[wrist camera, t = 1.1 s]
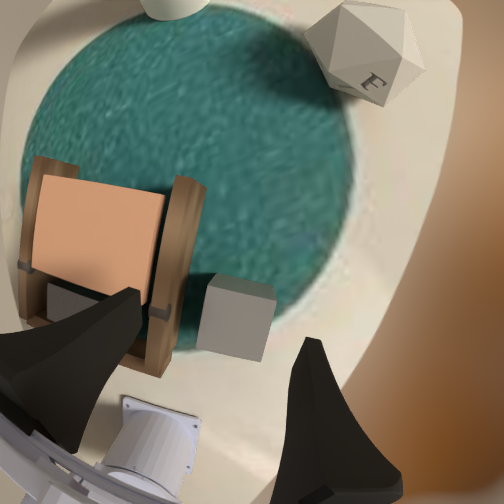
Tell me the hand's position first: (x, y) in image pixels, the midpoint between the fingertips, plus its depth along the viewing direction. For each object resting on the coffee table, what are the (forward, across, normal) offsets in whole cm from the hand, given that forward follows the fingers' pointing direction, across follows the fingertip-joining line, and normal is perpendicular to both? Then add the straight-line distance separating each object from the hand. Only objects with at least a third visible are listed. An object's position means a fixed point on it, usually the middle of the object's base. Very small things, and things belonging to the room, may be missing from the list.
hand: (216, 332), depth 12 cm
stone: (+10, 0, +6) cm, 11 cm away
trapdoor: (+6, +11, +3) cm, 13 cm away
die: (+18, -4, -14) cm, 24 cm away
